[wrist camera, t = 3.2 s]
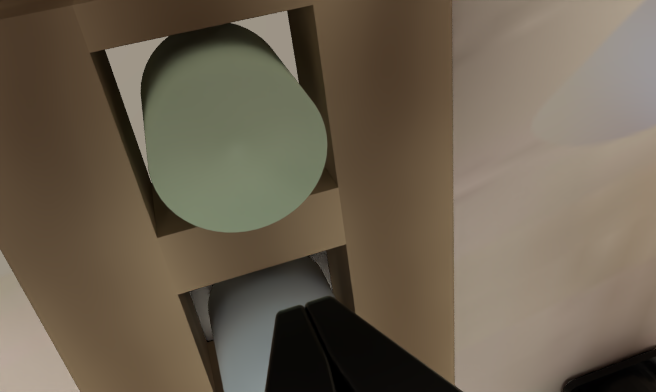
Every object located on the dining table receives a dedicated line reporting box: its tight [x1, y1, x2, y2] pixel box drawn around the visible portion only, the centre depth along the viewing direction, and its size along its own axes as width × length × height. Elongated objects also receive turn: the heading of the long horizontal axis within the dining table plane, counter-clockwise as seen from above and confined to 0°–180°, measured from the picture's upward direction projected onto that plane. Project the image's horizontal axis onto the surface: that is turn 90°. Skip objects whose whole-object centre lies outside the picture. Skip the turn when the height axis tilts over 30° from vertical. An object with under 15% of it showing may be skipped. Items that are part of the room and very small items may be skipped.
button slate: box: [208, 256, 336, 392], centre depth 17 cm, size 4×4×4 cm
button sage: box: [141, 23, 327, 232], centre depth 14 cm, size 4×4×4 cm
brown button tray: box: [0, 0, 455, 392], centre depth 19 cm, size 12×21×3 cm, turn 7°
